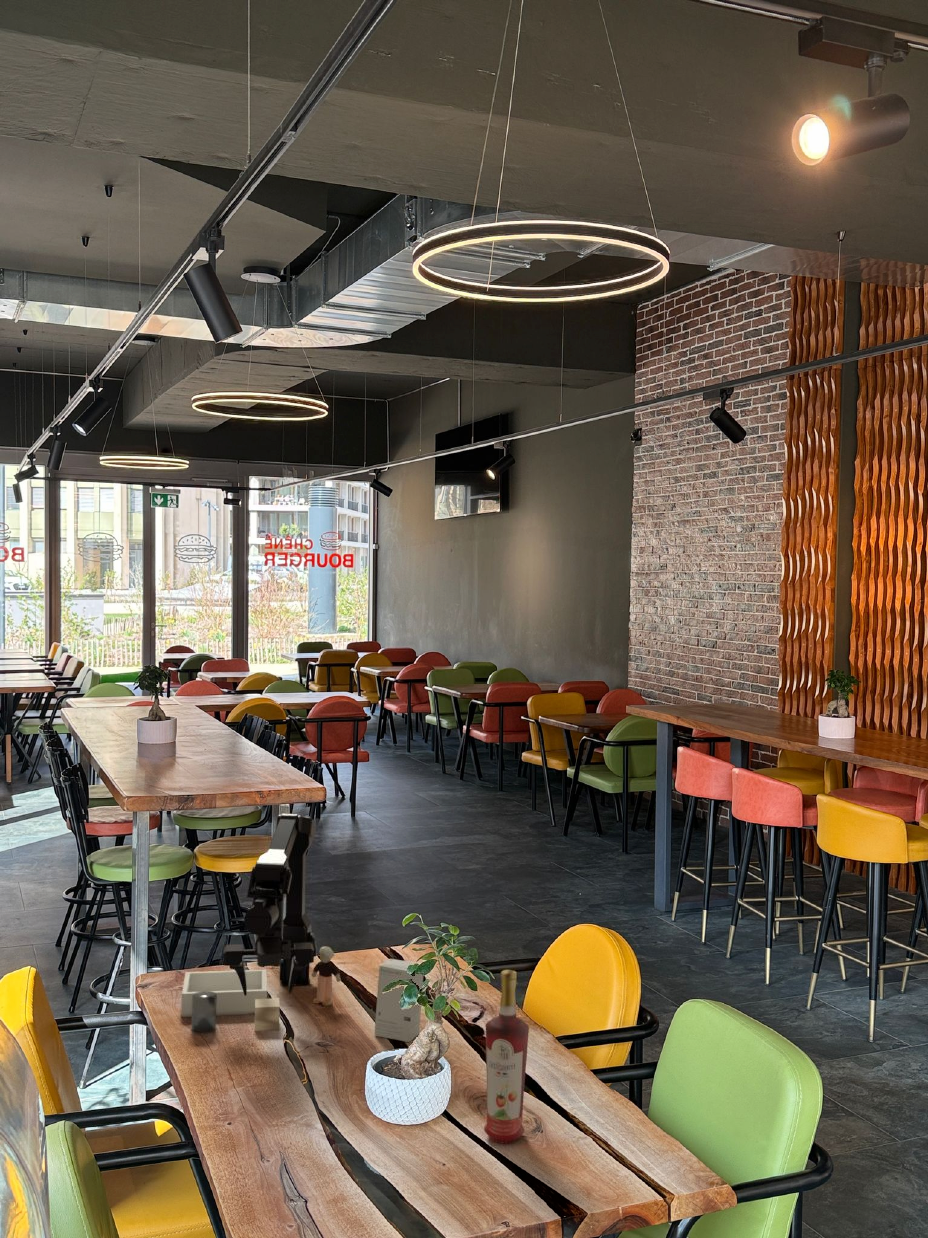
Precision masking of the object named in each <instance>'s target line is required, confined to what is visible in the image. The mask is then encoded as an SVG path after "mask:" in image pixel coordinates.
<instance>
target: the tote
mask: <svg viewBox="0 0 928 1238" xmlns="http://www.w3.org/2000/svg"><path fill="white" fill-rule="evenodd" d="M245 974H246V984H247V995H246V996H245V995H244V992H243V989H242V985H241V982H240V979H239V977H238V975H237V973H236V971H235V970H215V971H214V970H211V971H185V974H184V979H183V984H182V985H183V986H182V990H181V1009H180V1010H181V1011H180V1014H181V1015H180V1017H181V1018H190V1017H191V1018H192V995H193V994H195V993H197V992H202V991H211V992H215V993H216V994H217V1004H216V1017H217V1016H237V1015H238V1016H239V1015H243V1016H244V1015H255V999H268V984H267V983H268V980H267V977H268V976H267V969H245Z"/></svg>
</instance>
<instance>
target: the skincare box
mask: <svg viewBox="0 0 928 1238" xmlns="http://www.w3.org/2000/svg"><path fill="white" fill-rule="evenodd" d="M414 964H417V963H416V962H411V961H407V960H400V959H394V958H389V959H387V960H385V961H384V962H383V963H381V964H379V968H378V981H377V992H376V993H377V995H376V997H377V998H376V1006H375V1007H376V1009H375V1020H374V1036H375V1037H377V1038H378V1037H379V1038H380V1037H381V1038H386V1039H389V1040H390V1039H391V1040H396V1041H397V1040H398V1041H401V1042H405V1043H410V1042H411V1041H412V1040H413V1039H414V1038H416V1037H417V1036H418V1035H419V1034H420V1028H421V1027H420V1026H421V1011H422V1005H421V1006H420V1005H418V1004H417V1005H415V1006H412V1007H411V1008H409V1009H404V1010H402V1009H401V1007H400V1003H399V1001H400V998H401V995H402V993H403V991H404V986H401V987H399V988H395V989H392V991H389V992H386V993H384V994H383V993H382V991H383V989H384V988H385V987H386V986H387V985H389V984H390V983H393V982H397V981H399V980H404V979H412V981H413V982H414V983H416V985H418V986H419V988H421V989H422V990H423V985H424V974H423V975H422V974H416V975H415V976H412V975H411V974H409V973H407V968H408V966H409V965H414Z"/></svg>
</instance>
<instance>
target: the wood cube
mask: <svg viewBox="0 0 928 1238" xmlns="http://www.w3.org/2000/svg"><path fill="white" fill-rule="evenodd" d="M279 1030H280V998H279V997H277V998H267V999H255V1014H254V1032H263V1031H264V1032H265V1031H269V1032H270V1031H279Z"/></svg>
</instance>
